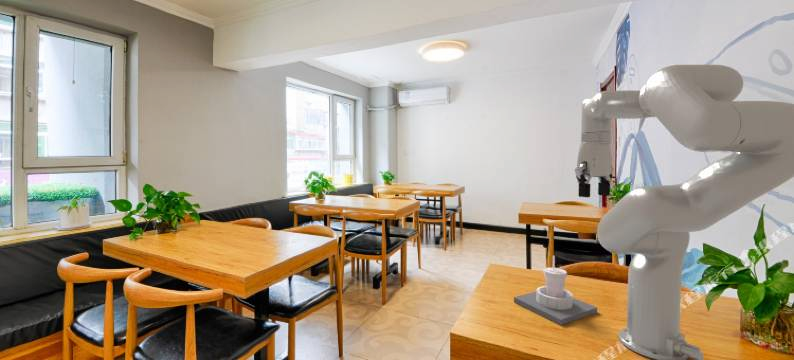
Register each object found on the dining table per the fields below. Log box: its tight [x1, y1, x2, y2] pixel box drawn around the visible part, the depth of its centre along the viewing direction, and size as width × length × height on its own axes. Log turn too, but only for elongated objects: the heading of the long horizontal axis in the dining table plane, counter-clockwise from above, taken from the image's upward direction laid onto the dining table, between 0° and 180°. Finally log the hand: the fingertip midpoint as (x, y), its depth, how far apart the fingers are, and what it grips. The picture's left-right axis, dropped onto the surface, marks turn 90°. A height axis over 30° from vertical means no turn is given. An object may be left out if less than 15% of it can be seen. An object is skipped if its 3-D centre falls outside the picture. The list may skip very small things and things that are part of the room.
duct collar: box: [513, 285, 598, 326], centre depth 93 cm, size 16×16×4 cm
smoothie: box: [543, 255, 568, 298], centre depth 93 cm, size 6×6×14 cm
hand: (594, 196), depth 94 cm, fingers open, 9 cm apart
